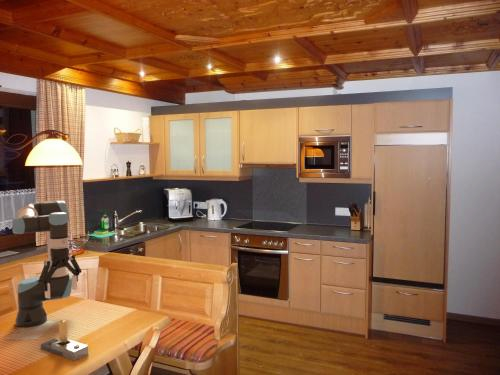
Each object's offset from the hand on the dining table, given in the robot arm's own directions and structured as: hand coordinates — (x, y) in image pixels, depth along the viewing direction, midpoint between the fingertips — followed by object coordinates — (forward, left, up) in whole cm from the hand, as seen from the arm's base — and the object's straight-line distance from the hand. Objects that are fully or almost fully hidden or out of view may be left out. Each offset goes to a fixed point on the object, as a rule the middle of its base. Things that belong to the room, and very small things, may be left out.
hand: (61, 293), depth 188 cm
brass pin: (+1, 0, -27) cm, 27 cm away
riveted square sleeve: (+1, 0, -27) cm, 27 cm away
